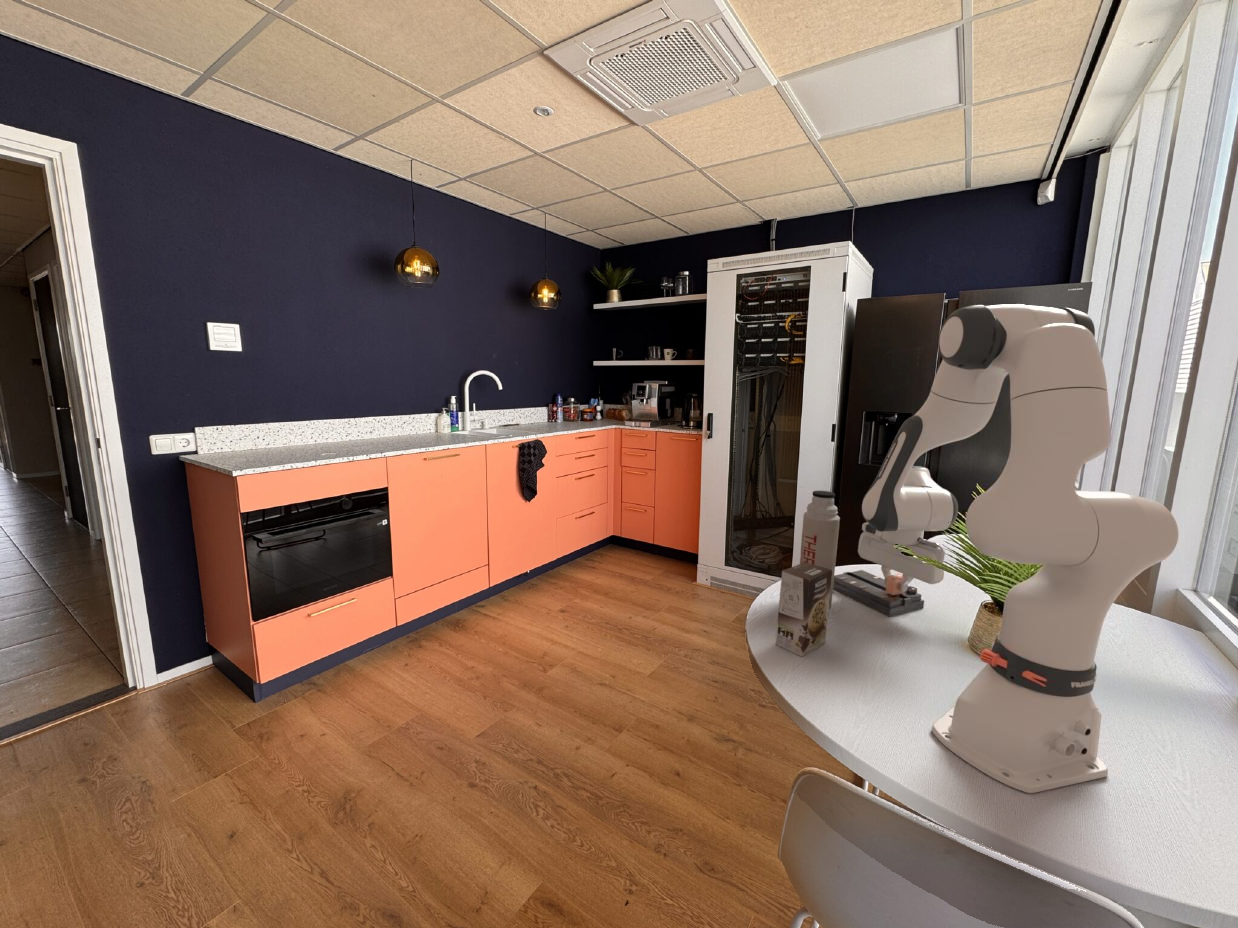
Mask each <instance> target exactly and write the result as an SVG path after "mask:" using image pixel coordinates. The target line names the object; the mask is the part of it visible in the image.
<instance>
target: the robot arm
mask: <svg viewBox="0 0 1238 928" xmlns="http://www.w3.org/2000/svg"><path fill="white" fill-rule="evenodd" d="M1095 337H1096V330H1095V324H1094V322H1093V320H1092V318H1091V317H1090V316H1089V315H1088V314H1087V313H1085V312H1083V311H1080V310H1076V309H1073V308H1069V307H1061V306H1059V307H1048V306H1039V305H1026V304H1021V303H1016V304H994V305H984V304H977V305H976V304H974V305H969V306H965V307H961V308H958V309H955V310H954V311H953V312H952V313H950V315H948V317H946V319H945V320H944V322H943V324H942V325H941V327H940V330H939V334H938V339H937V347H938V352H939V355H940V356H941V358H942V360H941V363H940V365H939V367H938V368H937V371H936V373H935V377H934V379H933V383H932V385H931V388H930V392H929V395H928V397H927V398H926V400H925V402H924V403H923V405H922V406H921V407H920V408H919V410H918V411H916V413H915V414H914V415H912V416H911V417H908V418H907V419H905V420H904V421H903V423H902V425H901V426H900V427H899V429H898V432H897V433H896V435H895V437H894V440H893V441H892V443H891V446H890V447H889V450H888V452H887V454H886V456H885V458H884V460H883V462H882V465H881V466H880V469H879V470H878V472H877V474H876V477H875V479H874V481H873V482H872V484H871V485H870V486H869V488H868V489H867V491H866V493H865V494H864V496H863V498H862V502H861V503H862V504H861V514H862V517H863V519H864V520H865V521H866V522H864V523H862V527H861V530H862V531H863V532H862V533H861V534H860V537H859V540H858V546H857V548H858V549H857V552H858V555H859V557H860V558H862V559H864V560H866V561H869V562H871V563H875V564H876V565H879V566H881V567H880V568H881V573H882V574H883V577H884V579H885V580H884V584H886V583H887V576H891V575H892V572H891V571H895V572H898V573H899V574H900V573H901V574H902V575H903V576H902V577H903V578H905V579H904V580H903V581H902V582H898V583H897V586H898V587H897V589H898V590H900V591H903V592H904V591H907V588H908V586H909V584H910V583H911V582H912V581H913V580H914V579H915V580H918V581H921V582H923V583H926V584H928V585H936V584H939V583H941V582H942V581H943V580H944V579H945V578H944V577H945V569H944V570H942V569H939V568H936V567H934V566H932V565H930V564H927V563H923V562H922V561H920V560H917V559H916V558H914V557H913V558H911V557H909V556H906V555H904V554H902V553H901V552H904V551H902V549H896V548H894V547H893V546H894V545H895V544H898V545H902V546H905V547H906V548H908V549H911V550H912V551H914V553H913V554H915V555H916V556H919V557H921V556H922V557H928V558H931V559H933V560H936V561H939V562H940V563H944V564H945V556H946V553H945V550H944V548H943V547H942V546H940V544H939V543H938V542H934V541H930V540H928V539H926V538H925V539H924V533H925V532H938V531H946V530H948V529H949V528H951V526H953V524H954V523H955V522H956V521H957V517H958V515H959V514H958V513H959V504H958V500H957V498H956V497H955V495H954V494H953V493H952V492H951V491H949V490H948V489H946V488H943V487H942V486H940V485H939V484H938V483H936V481H934V480H933V478H932V477H931V473H930V470H929V469H928V468H927V467H925V466H921V465H914V464H915V462H916V461H917V460H918V459H919V458H920V457H921V456H922V455H924V454H925V453H926V452H928V451H930V450H933V449H935V448H938V447H940V446H943V445H947V444H951V443H954V442H958V441H962V440H965V439H967V438H970V437H973V436H974V435H975V434H977V433H978V432H980V431H982V430H983V429H984V428H986V425H987V424H988V423H989V421H990V420H991V418H992V416H993V413H994V410H995V407H996V405H997V403H998V399H999V396H1000V393H1001V390H1002V386H1003V383H1004V380H1005V378H1006V377H1007V376H1009V383H1010V384H1009V386H1010V387H1009V399H1010V401H1009V402H1010V403H1009V404H1010V427H1011V430H1010V433H1011V434H1010V449H1009V454H1008V458H1007V461H1006V464H1005V466H1004V469H1002V472H1001V474H1000V475H999V476H998V478H997V480H996V481H995V482H994V483H993V484H992V485H991V486H990V487H989V488H988V489H987V490H986V491H984V492H982V493H980V494H979V495H978V496H977V497H975V499H974V500H973V501H972V502H971V503H970V505H969V507H968V509H967V511H966V516H965V530H966V533H967V536H968V538H969V540H970V542H971V544H972V545H973V546H974V548H976V550H977V551H979V553H981V554H982V555H983V556H987V557H989V558H994V559H997V560H1000V561H1006V562H1011V563H1015V564H1016V563H1017V564H1020V565H1021V564H1022V565H1042V567H1040V569H1039V570H1038V571H1037V572H1036V573H1035V574H1034V575H1032V576H1031V577H1029V578H1028V579H1027V578H1026V579H1025V580H1024V581H1021V582H1019V583H1017V584H1015V585H1013V587H1012V588H1011V589H1010V590H1009V591H1008V592H1007V594H1006V595H1005V599H1004V603H1003V610H1002V617H1001V624H1000V629H999V634H998V635H997V636H996V638H995V640H994V642H993V643H992V645H991V648H990V649H988V648H985V649H983V650H982V651H981V653H980V657H979V658H980V661H981V662H983V663H986V664H985V665H984V666H983V668H982V669H980V671H979V672H978V673H977V674H976V675H975V677H974V678H973V679H972V680H971V681H970V682H969V684H968V685H967V686H966V687H965V689H964V690H963V691H962V692H961V693H960V694H959V696H958V697H957V699H956V702H955V704H954V706H952V707H951V708H950V709H949V710H947V711H946V712H945V713H944V714H942V716H940V717H939V718H938V719H937V720H936V721H935V722H934V723H933V724H932V727H931V732H932V733H933V734H934V736H935V737H936V739H938V740H939V742H940V743H942V744H943V746H945V747H946V748H948V749H949V750H950V751H952V753H954V754H955V755H956V756H957V757H959V758H961V759H962V760H964V761H965V762H966V763H968V764H969V765H971V766H972V767H974V768H976V769H977V770H979V771H981V772H982V773H984V774H985V775H987V776H989V777H990V778H992V779H995V780H996V781H998V782H1001V783H1003V784H1004V785H1006V786H1009V787H1011V788H1013V789H1016V790H1019V791H1022V792H1024V793H1028V794H1034V793H1039V792H1044V791H1048V790H1052V789H1057V788H1061V787H1066V786H1070V785H1075V784H1079V783H1084V782H1088V781H1092V780H1093V781H1094V780H1097V779H1102V778H1106V777H1108V775H1109V774H1108V771H1109V768H1108V766H1107V765H1106V763H1105V762H1103V760H1101V758H1099V756H1098V753H1099V752H1098V751H1099V743H1100V742H1099V741H1100V731H1101V725H1102V724H1101V722H1102V713H1101V712H1100V709H1099V708H1098V707H1097V705H1096V704H1095V701H1094V699H1093V696H1092V694H1091V692H1092V691H1093V690H1094V688H1095V687H1094V686H1095V683H1096V680H1097V674H1098V673H1097V669H1098V665H1097V663H1096V662H1095V657H1096V655H1097V654H1096V653H1097V648H1098V643H1099V640H1100V636H1101V632H1102V628H1103V624H1104V621H1105V619H1106V616H1107V614H1108V613H1109V610H1110V609H1111V607H1112V605H1113V604H1114V602H1115V601H1116V599H1117V598H1118V597H1119V596H1120V595H1121V593H1122V592H1123V591H1124V590H1125V589H1126V588H1127V586H1128V585H1129V584H1130V583H1131V582H1132V581H1133V580H1134V579H1135V578H1137V577H1138V576H1139V575H1140V574H1142V572H1144V571H1145V570H1147V569H1150V567H1152V566H1154V565H1156V564H1159V563H1160V562H1164V560H1166V559H1167V558H1169V557H1170V556H1171V555H1172V553H1173V552H1174V550H1175V548H1176V547H1177V544H1178V540H1179V526H1178V524H1177V521H1176V519H1175V517H1174V515H1173V514H1172V513H1171V511H1170V510H1169V509H1168V508H1167V507H1166V506H1165V505H1164V504H1163V503H1160V502H1159V501H1157V500H1154V499H1151V498H1147V497H1142V496H1138V495H1135V494H1129V493H1124V492H1118V491H1109V490H1108V491H1106V490H1105V491H1103V490H1077V489H1076V480H1077V477H1078V474H1079V471H1080V470H1081V468H1082V467H1083V465H1084V464H1086V463H1087V462H1090V461H1093V460H1094V459H1097V458H1098V457H1100V456H1101V455H1102V454H1103V453H1104V452H1106V450H1107V449H1108V448H1109V447H1110V444H1111V441H1112V431H1111V418H1110V407H1109V394H1108V393H1109V392H1108V385H1107V376H1106V371H1105V367H1104V363H1103V358H1102V355H1101V352H1100V349H1099V345H1098V343H1097V341H1096V338H1095ZM950 521H951V522H950ZM948 522H949V523H948ZM897 548H899V547H897Z"/></svg>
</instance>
